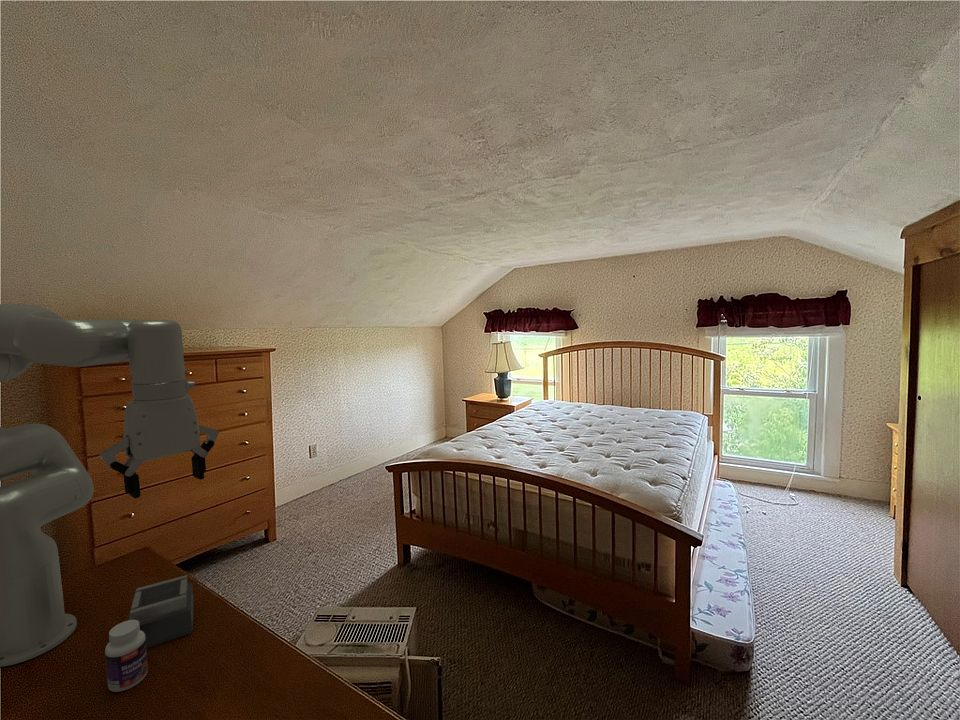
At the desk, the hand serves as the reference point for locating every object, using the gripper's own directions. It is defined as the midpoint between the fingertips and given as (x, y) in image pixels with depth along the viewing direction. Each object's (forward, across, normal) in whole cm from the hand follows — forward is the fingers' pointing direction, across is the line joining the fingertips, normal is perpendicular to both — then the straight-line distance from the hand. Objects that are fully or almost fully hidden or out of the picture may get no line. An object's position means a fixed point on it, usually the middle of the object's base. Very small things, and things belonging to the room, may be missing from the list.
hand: (168, 486), depth 75 cm
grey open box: (+32, -1, -11) cm, 34 cm away
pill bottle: (+33, +8, -2) cm, 34 cm away
